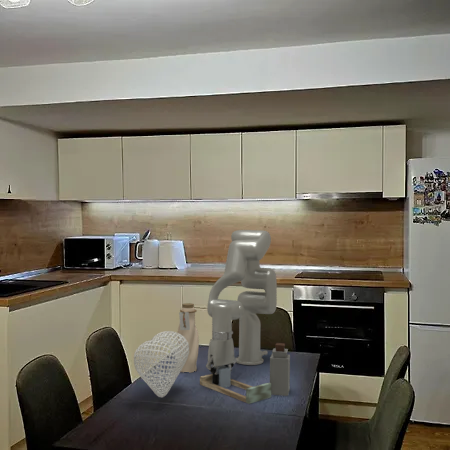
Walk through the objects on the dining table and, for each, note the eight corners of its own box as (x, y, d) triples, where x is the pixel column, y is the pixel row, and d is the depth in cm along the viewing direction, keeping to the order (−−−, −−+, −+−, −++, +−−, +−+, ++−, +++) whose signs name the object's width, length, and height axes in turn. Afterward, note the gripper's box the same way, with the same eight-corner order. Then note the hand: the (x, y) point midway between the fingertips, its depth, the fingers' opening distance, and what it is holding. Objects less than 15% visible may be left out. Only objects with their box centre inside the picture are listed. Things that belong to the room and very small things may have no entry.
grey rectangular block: (222, 383, 216) (222, 365, 215) (230, 386, 212) (230, 368, 212) (212, 385, 212) (212, 367, 212) (220, 388, 209) (220, 370, 208)
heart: (170, 412, 183) (171, 346, 183) (126, 408, 187) (127, 343, 186) (193, 386, 211) (193, 328, 210) (154, 383, 214) (155, 326, 213)
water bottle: (197, 374, 227) (198, 306, 226) (175, 374, 227) (176, 306, 226) (199, 367, 237) (199, 302, 236) (178, 367, 237) (178, 302, 237)
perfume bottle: (287, 395, 201) (288, 346, 201) (269, 394, 202) (270, 345, 202) (289, 390, 208) (290, 342, 207) (271, 388, 209) (272, 341, 209)
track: (221, 379, 221) (221, 366, 220) (271, 397, 199) (271, 383, 199) (199, 384, 213) (199, 371, 213) (248, 403, 192) (249, 389, 192)
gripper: (232, 330, 220) (231, 376, 220) (198, 336, 209) (197, 384, 209) (244, 334, 214) (244, 380, 215) (210, 340, 203) (210, 389, 204)
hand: (221, 381), depth 212 cm, fingers closed on grey rectangular block, 5 cm apart
